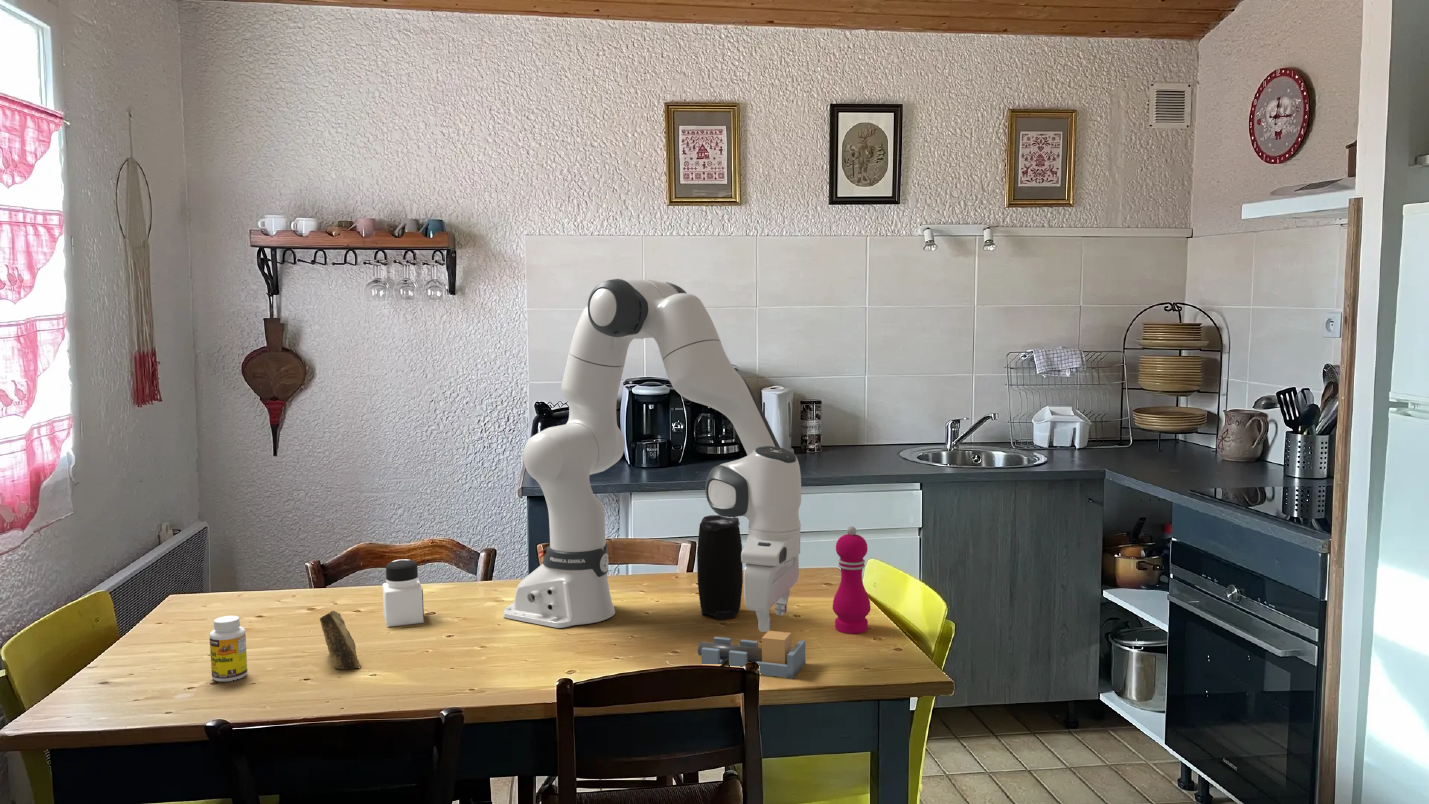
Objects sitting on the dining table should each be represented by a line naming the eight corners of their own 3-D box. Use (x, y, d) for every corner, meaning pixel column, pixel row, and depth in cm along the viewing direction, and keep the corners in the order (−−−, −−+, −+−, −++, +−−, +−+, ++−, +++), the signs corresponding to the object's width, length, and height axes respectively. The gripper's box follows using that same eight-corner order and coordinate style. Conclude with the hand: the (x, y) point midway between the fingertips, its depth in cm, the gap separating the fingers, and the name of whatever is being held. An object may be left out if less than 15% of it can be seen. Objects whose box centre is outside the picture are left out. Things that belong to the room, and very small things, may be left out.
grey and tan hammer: (696, 658, 184) (696, 630, 184) (704, 651, 188) (704, 624, 188) (784, 668, 179) (784, 640, 178) (791, 661, 183) (790, 633, 182)
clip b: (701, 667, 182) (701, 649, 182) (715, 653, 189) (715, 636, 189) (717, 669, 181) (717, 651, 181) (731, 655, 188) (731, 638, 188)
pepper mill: (869, 635, 198) (869, 531, 196) (830, 633, 200) (830, 529, 197) (871, 624, 205) (871, 522, 203) (834, 622, 207) (834, 521, 204)
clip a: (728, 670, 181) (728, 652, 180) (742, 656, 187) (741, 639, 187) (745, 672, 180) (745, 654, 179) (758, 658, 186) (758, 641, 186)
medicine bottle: (424, 623, 209) (421, 563, 208) (386, 627, 206) (384, 567, 205) (420, 613, 215) (417, 555, 214) (383, 617, 213) (381, 559, 212)
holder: (753, 674, 179) (753, 651, 178) (767, 658, 186) (766, 636, 186) (793, 678, 176) (793, 655, 176) (805, 663, 184) (805, 640, 183)
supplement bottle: (204, 682, 178) (201, 623, 177) (225, 670, 183) (221, 613, 182) (235, 683, 177) (231, 624, 176) (254, 672, 182) (251, 614, 181)
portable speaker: (750, 611, 214) (750, 517, 212) (724, 624, 206) (724, 525, 204) (715, 605, 219) (715, 512, 217) (689, 616, 211) (688, 520, 209)
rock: (315, 639, 193) (294, 650, 183) (343, 600, 193) (325, 609, 183) (362, 674, 193) (345, 687, 183) (391, 636, 193) (375, 646, 183)
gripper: (774, 528, 190) (773, 602, 192) (737, 555, 171) (736, 638, 172) (808, 531, 188) (806, 606, 189) (774, 559, 169) (773, 642, 170)
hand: (772, 622), depth 181 cm, fingers open, 8 cm apart
